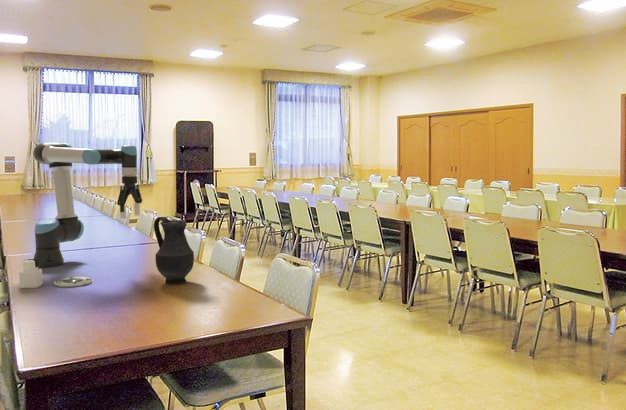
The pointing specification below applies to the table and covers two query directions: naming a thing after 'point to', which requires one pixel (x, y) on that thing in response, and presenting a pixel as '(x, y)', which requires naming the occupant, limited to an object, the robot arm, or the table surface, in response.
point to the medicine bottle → (30, 274)
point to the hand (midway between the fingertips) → (130, 217)
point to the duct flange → (72, 282)
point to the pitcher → (173, 251)
